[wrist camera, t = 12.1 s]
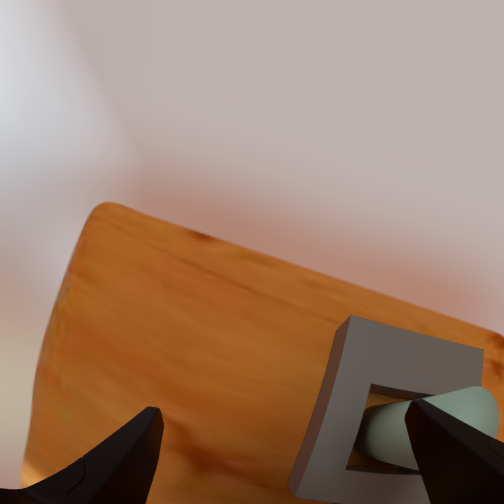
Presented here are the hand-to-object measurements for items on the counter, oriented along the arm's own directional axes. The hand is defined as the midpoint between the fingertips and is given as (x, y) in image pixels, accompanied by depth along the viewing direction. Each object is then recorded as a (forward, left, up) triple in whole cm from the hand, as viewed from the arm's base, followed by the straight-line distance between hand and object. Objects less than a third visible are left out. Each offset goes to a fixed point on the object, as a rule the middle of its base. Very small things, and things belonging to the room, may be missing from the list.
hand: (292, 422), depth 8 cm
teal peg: (+1, -9, -14) cm, 17 cm away
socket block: (+2, -10, -14) cm, 17 cm away
